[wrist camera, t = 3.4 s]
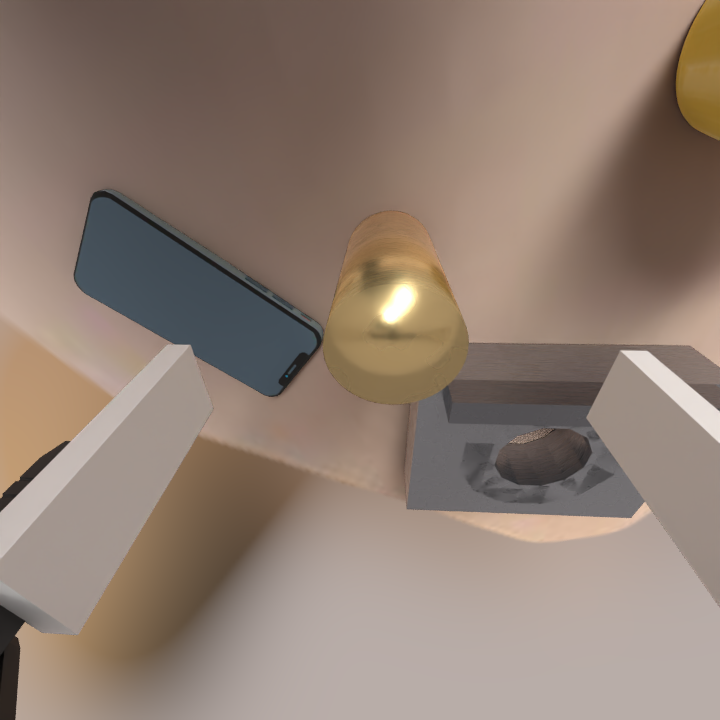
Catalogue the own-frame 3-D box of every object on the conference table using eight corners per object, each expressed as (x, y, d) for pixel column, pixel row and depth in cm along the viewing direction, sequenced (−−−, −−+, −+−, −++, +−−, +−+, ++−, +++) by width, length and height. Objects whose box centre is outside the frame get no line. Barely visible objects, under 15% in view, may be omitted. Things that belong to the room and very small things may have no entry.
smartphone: (89, 180, 17) (327, 337, 22) (112, 176, 19) (331, 325, 23) (66, 288, 21) (273, 404, 25) (86, 278, 23) (279, 390, 27)
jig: (404, 468, 31) (408, 533, 26) (415, 342, 23) (424, 402, 18) (604, 475, 30) (646, 543, 25) (689, 345, 22) (777, 409, 17)
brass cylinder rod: (348, 295, 21) (328, 403, 13) (345, 211, 18) (316, 283, 10) (427, 295, 21) (456, 405, 13) (437, 210, 18) (481, 283, 10)
